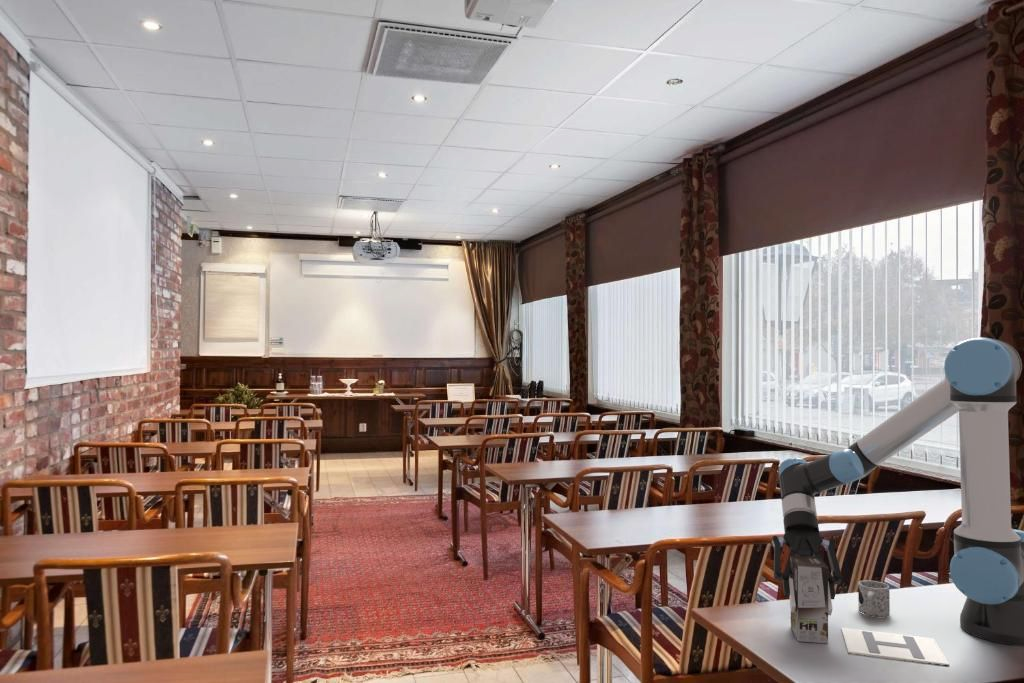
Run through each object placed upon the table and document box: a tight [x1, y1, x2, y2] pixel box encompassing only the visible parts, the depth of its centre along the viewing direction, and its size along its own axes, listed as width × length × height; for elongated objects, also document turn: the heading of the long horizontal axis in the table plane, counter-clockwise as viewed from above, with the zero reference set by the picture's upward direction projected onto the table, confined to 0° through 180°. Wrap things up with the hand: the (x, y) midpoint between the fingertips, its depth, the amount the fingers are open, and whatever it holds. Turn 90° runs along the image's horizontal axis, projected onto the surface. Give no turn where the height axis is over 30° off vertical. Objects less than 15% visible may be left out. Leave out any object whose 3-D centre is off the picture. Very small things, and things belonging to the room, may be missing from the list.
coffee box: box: [789, 555, 829, 644], centre depth 157 cm, size 9×6×16 cm
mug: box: [857, 580, 891, 618], centre depth 170 cm, size 10×7×7 cm
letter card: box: [840, 627, 950, 666], centre depth 150 cm, size 18×14×1 cm
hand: (811, 610), depth 153 cm, fingers closed on coffee box, 7 cm apart
